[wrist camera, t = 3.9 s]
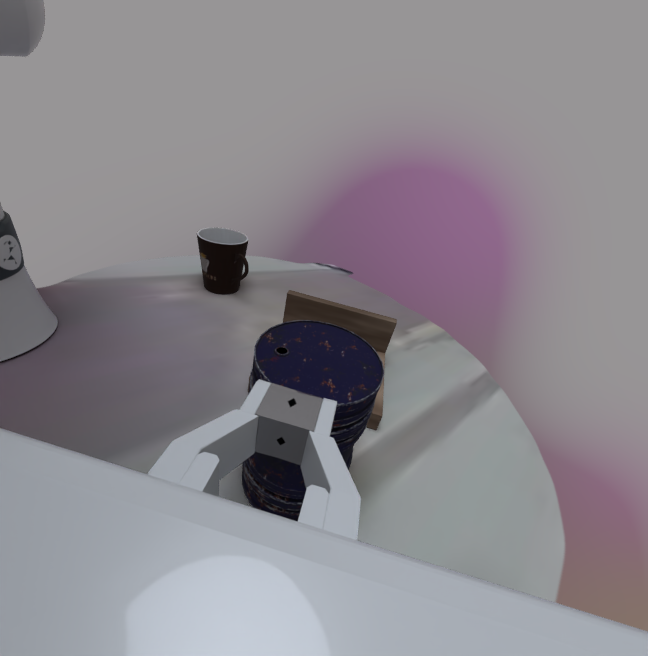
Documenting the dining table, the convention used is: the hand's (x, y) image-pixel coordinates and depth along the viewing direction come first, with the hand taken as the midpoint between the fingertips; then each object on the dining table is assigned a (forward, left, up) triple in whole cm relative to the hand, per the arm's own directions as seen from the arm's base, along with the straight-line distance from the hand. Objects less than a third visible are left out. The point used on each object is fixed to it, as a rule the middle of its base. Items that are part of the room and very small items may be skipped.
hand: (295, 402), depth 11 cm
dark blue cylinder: (+3, +10, -20) cm, 23 cm away
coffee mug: (-8, +47, -20) cm, 52 cm away
